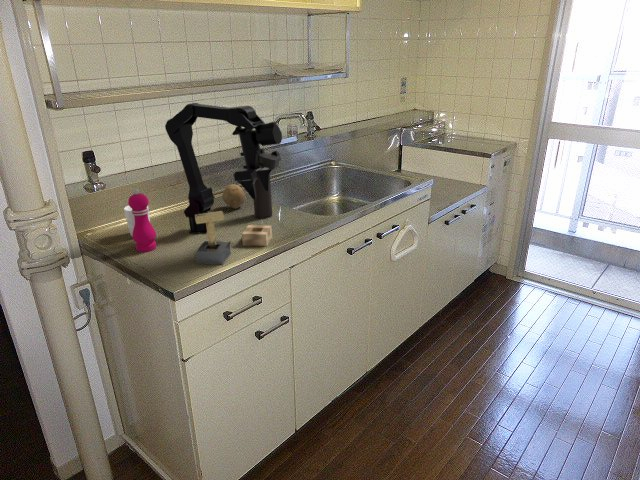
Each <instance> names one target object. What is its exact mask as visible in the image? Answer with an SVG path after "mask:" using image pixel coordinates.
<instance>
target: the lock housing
mask: <svg viewBox="0 0 640 480" xmlns="http://www.w3.org/2000/svg"><path fill="white" fill-rule="evenodd" d="M216 243H217V249H209V244H208V240H205V241H204V242H202V244H201V245H199V247H198V248H197V249H196V250H195V256H196V257H195V258H196V264H199V265H200V264H201V265H204V264H205V265H224V263H225V262H226V261H227V259H228V258H229V257H230V255H231V253H232V252H231V244H230V241H216Z"/></svg>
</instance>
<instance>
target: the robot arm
mask: <svg viewBox="0 0 640 480" xmlns="http://www.w3.org/2000/svg"><path fill="white" fill-rule="evenodd" d="M198 118H203V119H209V120H217V121H218V120H219V121H224V122H226V123H228V124H229V125H233V126H235V129H234V130H233V132H232V133H231V135H232V136H237V135H238V137H239V141H240V145H241V146H240V147H241V150H242V151H241V152H240V153H239V154H240V157H243V161H244V165H243V166H242V168H241V169H237V170H236V171H234V173H233V179H234V181H235V182H237V184H240V185H241V186H242V188H244V190H245V191H246V192H247V194H248V195H249V196H250V197H251V199H256V189H255V181H256V180H257V178H255V177H256V172H257V174H258V176H259V179H260V181H261V183H262V185H263V187H264V189H265V191H269V184H271V174H272V172H273V171H274V170H275V169H277V168H279V166H280V162H281V161H282V157H281V155H280V152H279V150H278V151H277V150H272V152H269V153H266V152H265V148H263V147H265V146H272V145H273V146H274V145H280V144H281V143H282V141H283V140H282V139H283V133H282V130H281V129H280V126H279V125H278V124H277V121H271V122H267V123H265V121H264V120H263V119H261V117H260V116H259V115H258V114H257V112H256V110H255V108H254V107H253V106H251V105H240V106H232V107H226V106H218V105H209V104H202V103H197V102H193V103H191V102H190V103H188V104H186V105H185V106H184V107H183V108H182V110H180V111H179V112H178V113H176V114H175V115H174V116H173V117H172V118H170V119H168V120H167V121H166V123H165V127H164V128H165V131H166V133H167V135H168V138H169V140H170V141H171V142H172V143H173V144H174V145H175V146H176V148H177V151H178V155H179V158H180V162H181V165H182V168H183V170H184V174H185V177H186V180H187V184H188V187H189V190H188V196H187V199H188V203H189V205H188V206H187V207H186V208H185V209H183V214H184V215H185V217H186V218H188V222H189V229H190V230H188V233H189V234H207V227H206V223H200V224H197V223H196V220H195V215H196V214H203V213H209V212H210V211H212V207H213V205H214V204H215V198H216V197H215V196H214V193H213V188H212V187H207V186H206V185H205V183H204V180H203V177H202V175H201V174H202V173H201V170H200V168H199V164H198V160H197V157H196V153H195V150H194V146H193V136H194V132H193V125H194V124H195V123H196V122H197V119H198ZM261 146H262V148H261Z"/></svg>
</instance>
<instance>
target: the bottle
mask: <svg viewBox="0 0 640 480" xmlns="http://www.w3.org/2000/svg"><path fill="white" fill-rule="evenodd" d="M255 178H257V180H256V181H255V189H256V199H253V211H254V217H255V218H258V219H267V218H270V217H272V216H273V201H272V185H271V184H272V183H270V184H269V191H265V189H264V187H263V185H262V183H261V181H260V179H259V176H258V174H257V172H256V177H255Z"/></svg>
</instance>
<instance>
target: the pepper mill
mask: <svg viewBox="0 0 640 480" xmlns="http://www.w3.org/2000/svg"><path fill="white" fill-rule="evenodd" d="M149 203H150V201H149V198H148V196H146V195H145V194H143V193H141V191H140V189H137V188H136V189H133V194H131V195H130V196H129V198H128V201H127V205H128V206H130V207H131V208H132V210H131V211H132V215H134V218H135V225H134V229H133V234H132V236H133V237H132V236H131V237H132V240H133V241H134V242H135V243H136V244H135V249H136V251H137V252H140V253H146V252H151V251H154V250H155V249H157V242H156V241H155V240H156V237H157V232H156V230H155V227H154V226H153V225H152V223H151V220H150V221H149V219H148V212H149V213H150V211H148V209H149ZM147 206H148V208H147Z"/></svg>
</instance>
